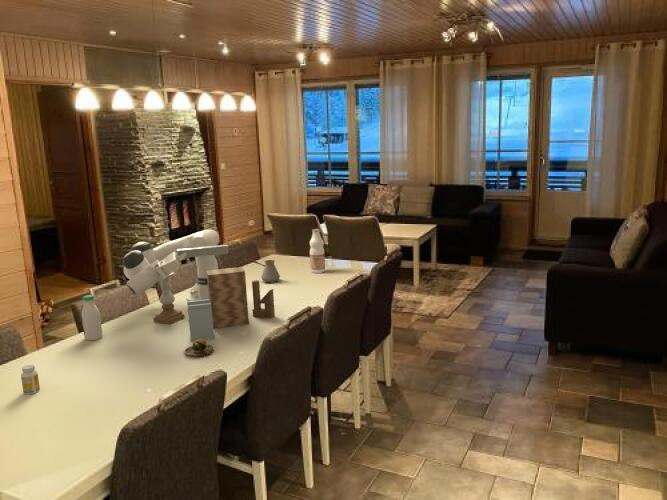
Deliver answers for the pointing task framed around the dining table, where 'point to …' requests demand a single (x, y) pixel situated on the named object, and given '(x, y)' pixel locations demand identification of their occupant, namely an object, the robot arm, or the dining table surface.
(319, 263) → the fruit juice
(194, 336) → the block
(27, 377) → the supplement bottle
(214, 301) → the brown tall rectangular box
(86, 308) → the milk bottle
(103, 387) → the dining table surface
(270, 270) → the coffee pot
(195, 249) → the bar
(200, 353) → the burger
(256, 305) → the wooden block
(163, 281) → the candle holder
